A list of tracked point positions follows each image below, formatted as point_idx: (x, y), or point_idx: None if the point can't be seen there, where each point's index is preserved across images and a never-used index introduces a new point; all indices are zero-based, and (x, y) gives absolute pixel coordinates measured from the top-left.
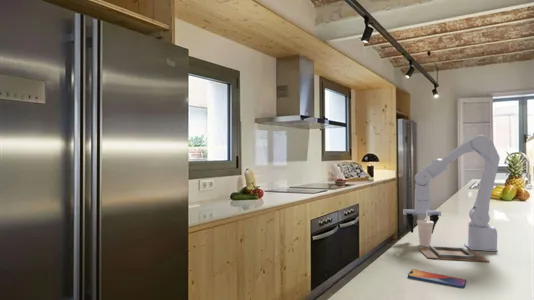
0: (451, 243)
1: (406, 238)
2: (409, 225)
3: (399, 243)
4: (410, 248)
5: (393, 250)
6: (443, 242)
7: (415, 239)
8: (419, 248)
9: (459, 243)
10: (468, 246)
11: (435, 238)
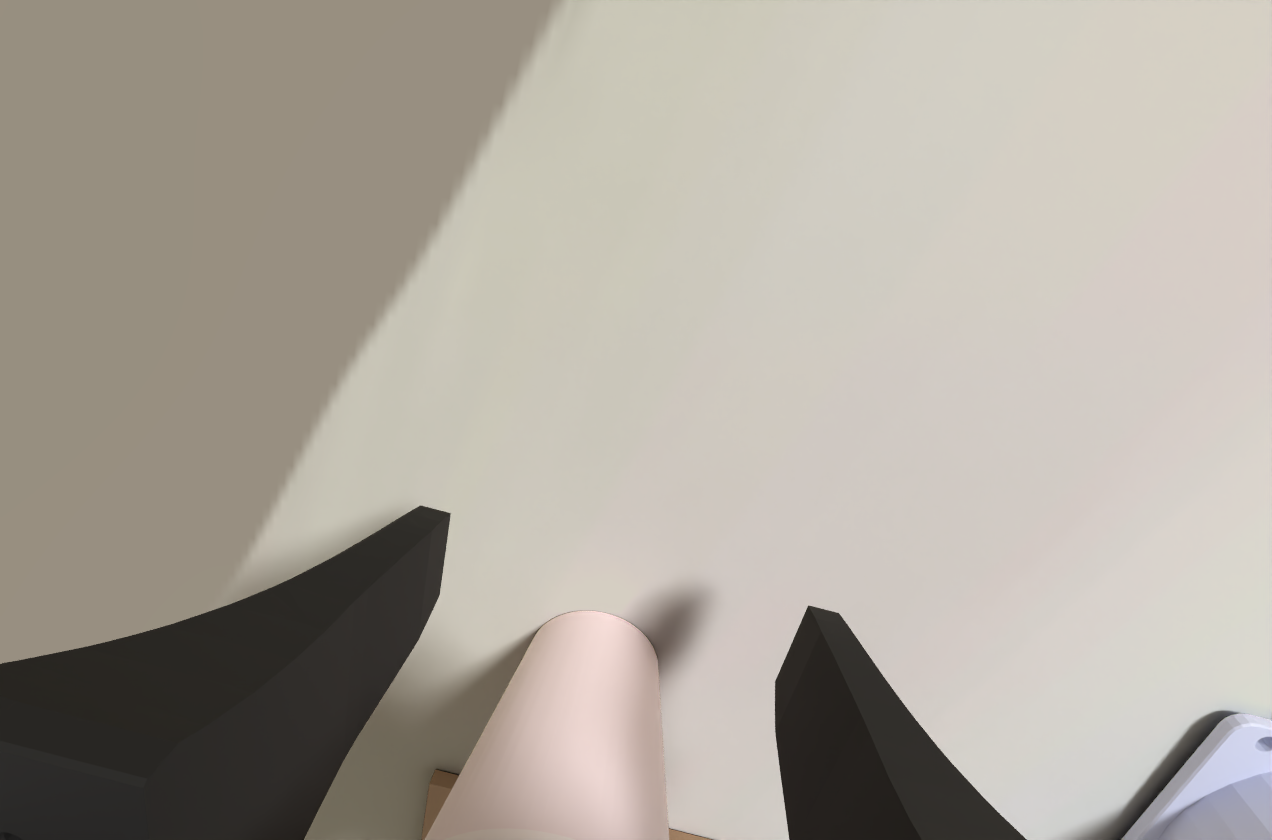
0: (1116, 595)
1: (484, 222)
2: (329, 568)
3: (269, 547)
4: (351, 752)
5: None
6: (1026, 532)
7: (630, 308)
8: (428, 821)
9: (1269, 604)
10: (1151, 833)
11: (1133, 224)
